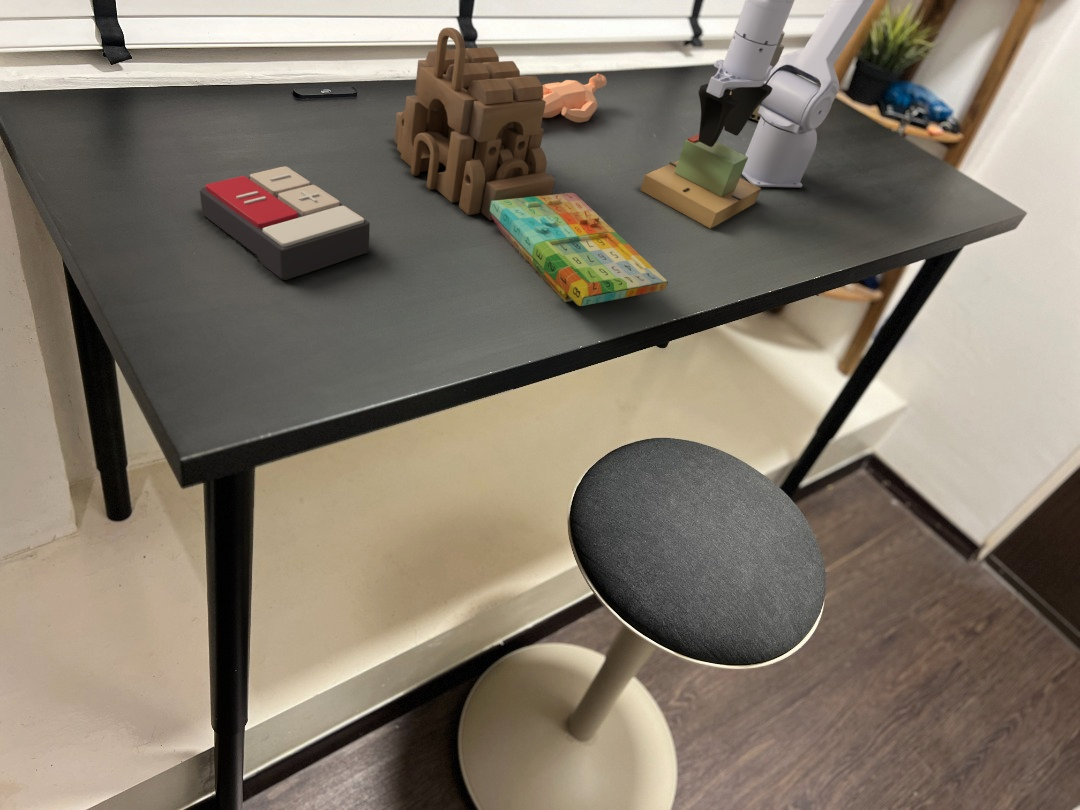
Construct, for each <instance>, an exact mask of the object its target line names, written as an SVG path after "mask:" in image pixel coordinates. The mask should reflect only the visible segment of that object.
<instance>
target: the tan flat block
mask: <svg viewBox="0 0 1080 810" xmlns="http://www.w3.org/2000/svg"><path fill="white" fill-rule="evenodd" d="M677 163H678V160H675V161H674V162H672V161H670V162H669V164H667V165H664V166H662V167H660V168H657V169H655V170H653V171H650V172H648V173H646V174H644V178H643V181H642V184H641V187H640V191H641V193H645V194H646V195H648V196H650V197H652V198H653V199H655V200H657V201H659V202H661V203H662V204H665V205H666V206H668V207H670V208H672V209H674V210H675V211H677V212H679V213H681V214H682V215H685V216H686V217H688V218H690V219H692V220H693V221H695V222H696V223H699V224H701V225H702V226H704V227H706V228H709V229H710V230H711V229H713V228H714V227H716V226H718V225H720V224H721V223H723V222H725V221H727V220H729V219H731V218H732V217H734V216H735V215H737V214H739V213H741V212H742V211H744V210H745V209H748V208H749V207H751V206H753V205H755V204H756V201H757V199H758V197H759V194H760V192H761V190H762V187H757V186H756V185H754V184H752V183H750V182H749V181H748V180H747V179H745V178H742V177H740V179H739V181H738V184H737V186H736V189H735V190H733V191H731V192H729V193H728V194H726V195H724V196H722V197H720V196H718V195H716V194H714V193H712V192H711V191H709V190H707V189H705V188H703V187H701V186H699V185H697V184H695V183H693V182H691V181H689V180H688V179H686V178H684V177H682V176H680V175H678V174H676V173H674V172H675V169H676V166H677Z"/></svg>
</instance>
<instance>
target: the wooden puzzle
mask: <svg viewBox="0 0 1080 810" xmlns="http://www.w3.org/2000/svg"><path fill="white" fill-rule="evenodd" d="M449 39H451V40H452V41H453V43H454V47H455V48H451V49H450V48H449V49H447V47H448V41H449ZM542 85H543V84H542V83H541V81H540V79H539V78H538V76H536V75H527V76H526V75H525V76H521V70H520V68H519V67H518V66H517V64H516V62H515V61H513V60H502V61H501V60H500V57H499V55H498V54H497V52H496V50H495V49H494V48H493V47H492V46H488V47H487V46H485V47H466V43H465V39H464V36H463V35H462V34H461V32H460V31H459V30H458V29H456V28H454V27H443V28H442V29H441V30H440V31H439V33H438V37H437V42H436V49H430V50H428V53H427V55H426V57H425V59H418V60H417V67H416V77H415V86H414V87H415V88H414V93H415V95H406V97H405V107H404V110H403V111H398V112H396V116H395V126H394V137H393V142H394V143H395V144H396V146H397V147H396V151H398V152H399V154H400V159H401V160H402V161H403V162H405V163H406V164H407V165H408V166H409V167H410V174H411V175H413V176H414V177H416V176H420V173H425V172H427V180H426V188H427V189H428V190H430V191H433V190H436V191H437V192H439V193H440V194H441V195H442V196H443V197H444V198H445V199H447V200H448V201H449V202H450V203H452V204H453V203H458V208H459V209H460V210H461V211H463V212H464V213H465V214H466V215H467V216H472V215H477V214H480V213H481V214H482V215H483V216H485V218H487V219H488V221H494V220H493V218H492V215H491V213H490V211H489V209H490V203H491V201H495V200H505V199H515V198H524V197H534V196H544V195H553V190H554V186H555V182H556V178H554V177H553V176H551V175H550V174H549V173H548V172H546V171H547V156H546V154H545V151H544V150H543V148H542V147H541V146H542V140H543V137H544V136H543V135H544V131H545V129H544V128H543V127H542V122H543V118H544V117H543V114H544V109H545V104H546V101H544V100H543V86H542ZM443 169H445V170H444V171H442V172H439V170H443Z"/></svg>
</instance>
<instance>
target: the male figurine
mask: <svg viewBox="0 0 1080 810" xmlns="http://www.w3.org/2000/svg"><path fill="white" fill-rule="evenodd" d="M606 85H607V77H606V76H605V75H603V74H600V73H596V75H593V76H592V77H590V78H589V81H588V83H587V84H582V83H581V82H579V81H578V80H574V79H573V80H572V79H565V80H564V81H562V82H559V81H557V82H550V83H545V84H542V86H543V100H544V101H546V104H545V109H544V114H543V118H544V119H551V118H554V117H555V116H557V115H560V114H561V116H563V117H564V118H565V119H568V120H569V121H572V122H574V123H584V122H588V121H590V119H591V118H592V116H593V115H594V113H595V112H596V111H597V109H598V100H597V99H596V97H595V95H594V94H596V91H597V90H598V89H601V88H603V87H605V86H606Z"/></svg>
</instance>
